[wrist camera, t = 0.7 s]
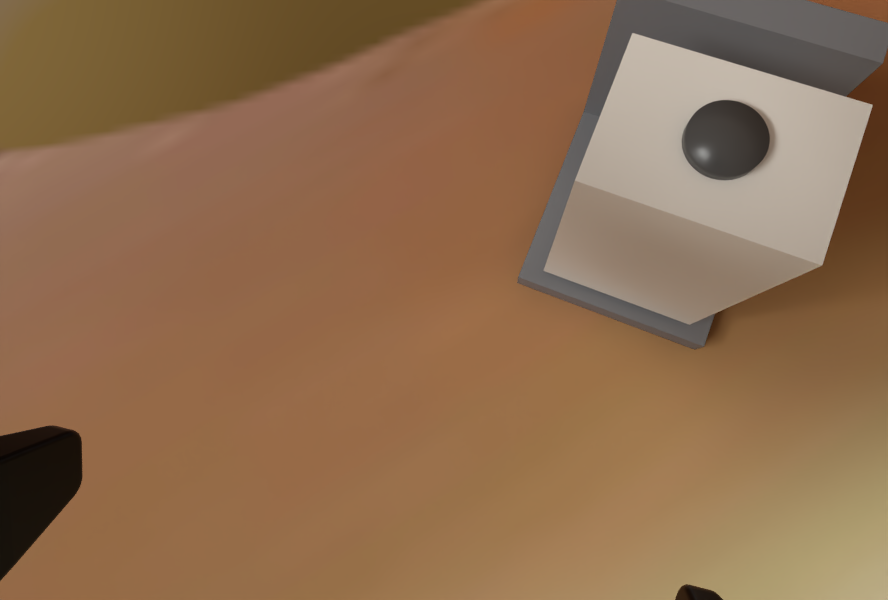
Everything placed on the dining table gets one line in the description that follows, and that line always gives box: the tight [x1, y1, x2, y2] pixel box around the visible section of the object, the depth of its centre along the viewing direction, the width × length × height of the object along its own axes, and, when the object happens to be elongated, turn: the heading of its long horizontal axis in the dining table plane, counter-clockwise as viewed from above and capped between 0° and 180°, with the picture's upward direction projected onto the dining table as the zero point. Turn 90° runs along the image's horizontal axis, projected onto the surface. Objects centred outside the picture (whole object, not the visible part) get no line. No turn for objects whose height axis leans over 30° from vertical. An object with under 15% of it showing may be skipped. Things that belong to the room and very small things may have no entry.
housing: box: [517, 0, 888, 349], centre depth 20 cm, size 8×7×8 cm
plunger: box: [543, 33, 873, 325], centre depth 18 cm, size 4×6×9 cm
